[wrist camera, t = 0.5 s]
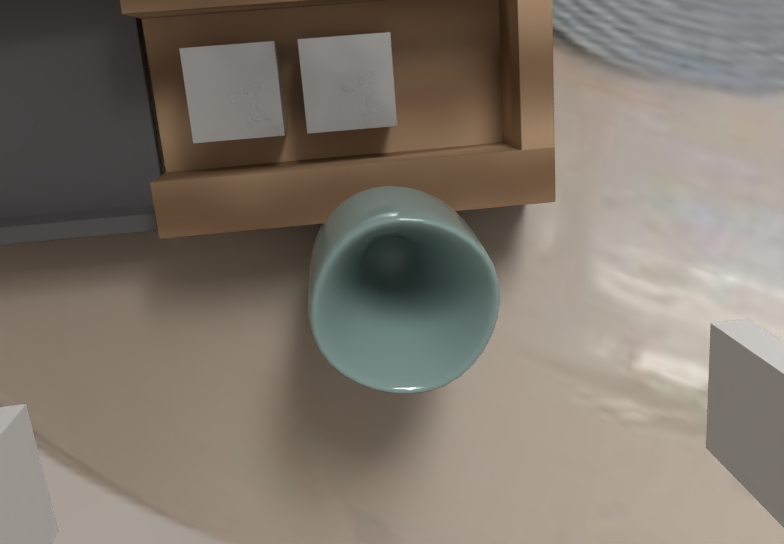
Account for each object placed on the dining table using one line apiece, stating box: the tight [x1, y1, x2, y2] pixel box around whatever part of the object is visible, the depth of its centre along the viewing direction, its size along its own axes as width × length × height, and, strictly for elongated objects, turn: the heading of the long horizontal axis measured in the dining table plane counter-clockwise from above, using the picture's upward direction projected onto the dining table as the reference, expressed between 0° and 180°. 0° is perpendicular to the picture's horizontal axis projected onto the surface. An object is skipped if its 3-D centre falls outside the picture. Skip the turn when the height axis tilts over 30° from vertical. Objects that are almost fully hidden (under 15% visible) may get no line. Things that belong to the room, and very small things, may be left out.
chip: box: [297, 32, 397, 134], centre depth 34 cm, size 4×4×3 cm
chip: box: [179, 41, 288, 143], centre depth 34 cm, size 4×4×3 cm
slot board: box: [120, 0, 555, 239], centre depth 35 cm, size 13×18×5 cm
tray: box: [0, 0, 162, 245], centre depth 35 cm, size 12×12×3 cm
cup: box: [308, 186, 500, 394], centre depth 35 cm, size 8×8×10 cm
